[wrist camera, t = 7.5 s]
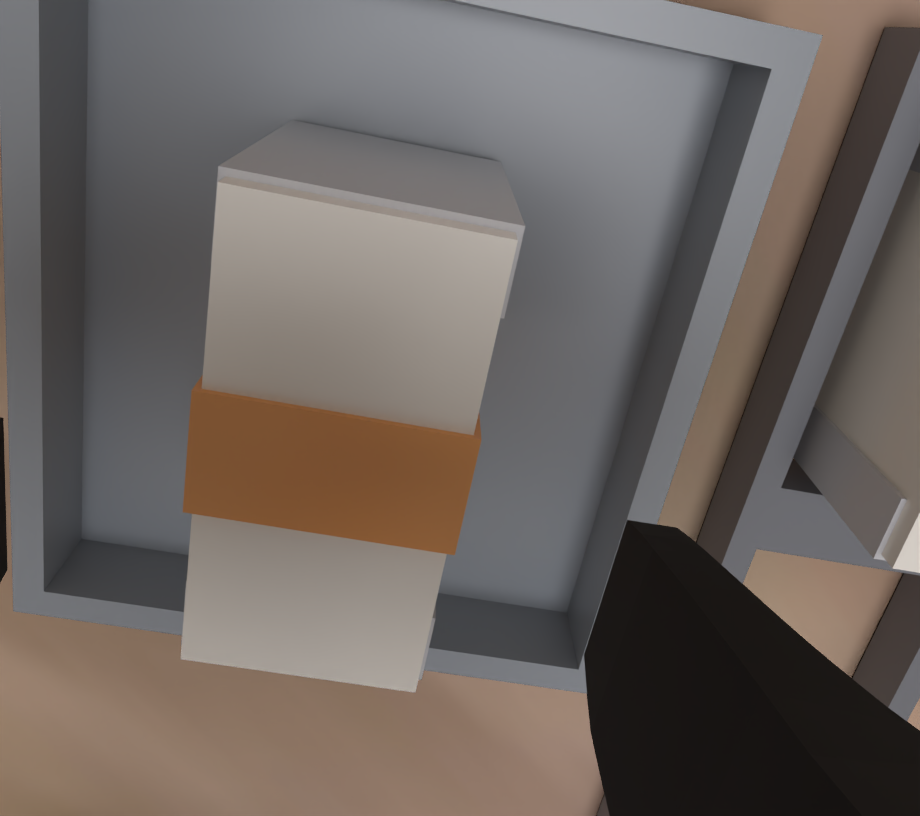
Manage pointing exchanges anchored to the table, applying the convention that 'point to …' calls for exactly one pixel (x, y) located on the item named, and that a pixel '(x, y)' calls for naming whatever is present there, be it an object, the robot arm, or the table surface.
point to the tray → (520, 332)
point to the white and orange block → (340, 399)
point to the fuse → (876, 399)
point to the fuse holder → (806, 365)
